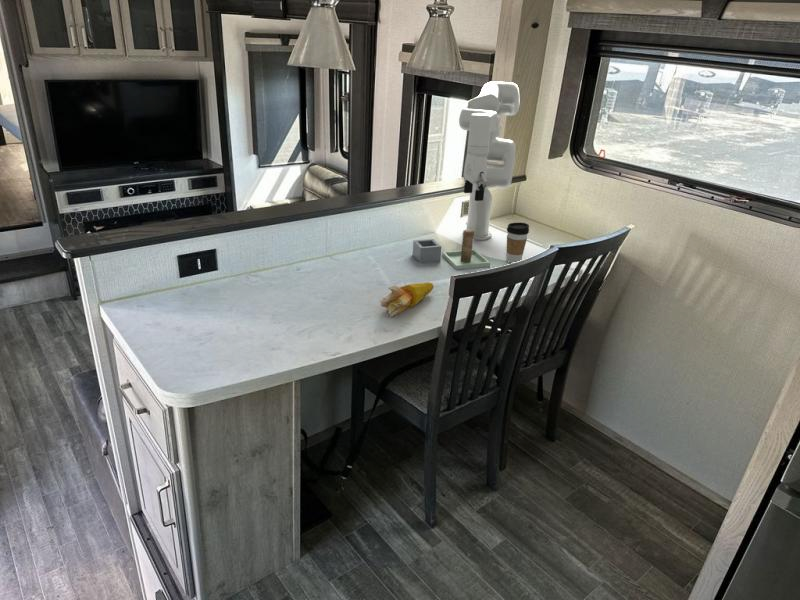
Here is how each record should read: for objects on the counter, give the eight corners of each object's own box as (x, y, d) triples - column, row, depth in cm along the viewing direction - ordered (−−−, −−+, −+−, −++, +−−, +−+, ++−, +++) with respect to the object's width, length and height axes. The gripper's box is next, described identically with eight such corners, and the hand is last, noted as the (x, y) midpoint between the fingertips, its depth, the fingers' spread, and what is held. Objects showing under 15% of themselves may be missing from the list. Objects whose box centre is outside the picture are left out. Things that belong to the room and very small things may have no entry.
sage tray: (441, 257, 227) (442, 251, 226) (474, 255, 232) (474, 249, 230) (455, 271, 216) (456, 265, 214) (489, 268, 220) (490, 262, 219)
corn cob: (431, 305, 198) (386, 322, 179) (416, 289, 201) (370, 304, 181) (443, 288, 194) (399, 304, 174) (428, 272, 196) (382, 286, 177)
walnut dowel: (458, 259, 224) (461, 229, 219) (468, 258, 225) (471, 229, 220) (462, 262, 221) (466, 233, 216) (472, 262, 222) (475, 232, 217)
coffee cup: (526, 265, 224) (531, 228, 217) (504, 264, 224) (509, 227, 217) (522, 257, 232) (527, 221, 225) (501, 256, 232) (506, 220, 225)
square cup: (412, 257, 227) (413, 240, 224) (432, 255, 229) (433, 238, 226) (419, 265, 220) (420, 248, 217) (440, 263, 222) (441, 246, 219)
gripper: (458, 144, 211) (454, 190, 219) (478, 155, 196) (473, 204, 204) (477, 144, 213) (472, 189, 221) (498, 155, 199) (492, 203, 206)
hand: (473, 196), depth 212 cm, fingers open, 9 cm apart
